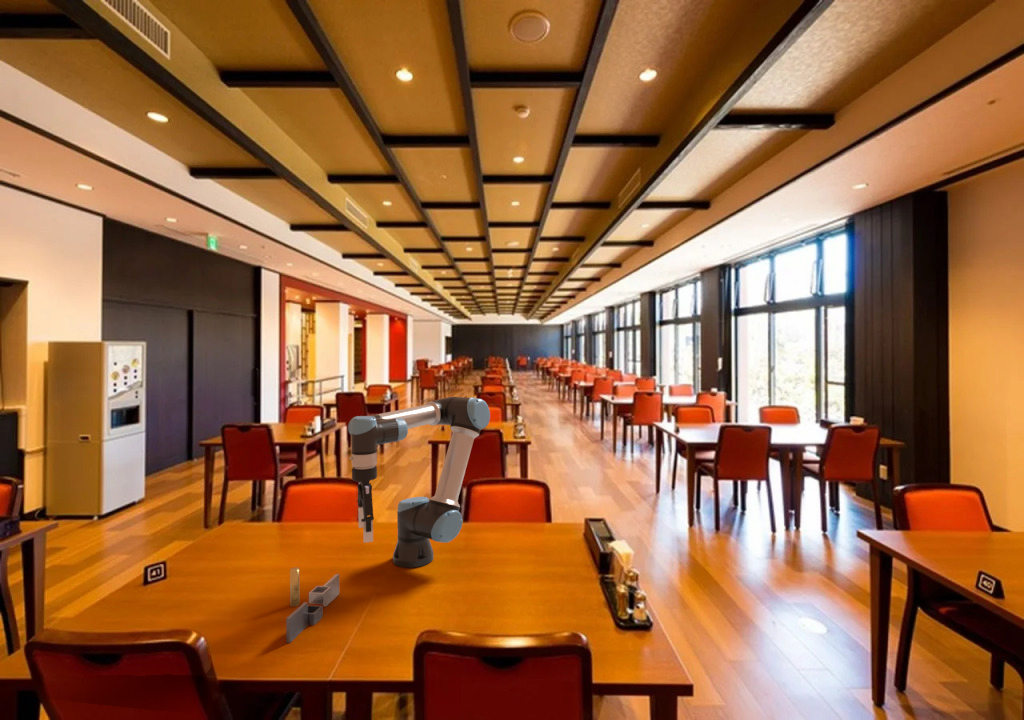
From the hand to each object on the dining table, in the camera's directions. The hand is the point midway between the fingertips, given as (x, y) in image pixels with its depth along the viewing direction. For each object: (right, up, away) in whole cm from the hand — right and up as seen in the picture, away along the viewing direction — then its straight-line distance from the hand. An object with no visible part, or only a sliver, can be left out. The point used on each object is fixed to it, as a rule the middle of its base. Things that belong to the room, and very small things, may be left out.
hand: (365, 534), depth 153 cm
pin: (-22, -22, -1) cm, 31 cm away
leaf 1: (-13, -22, -15) cm, 29 cm away
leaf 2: (-12, -21, -1) cm, 24 cm away
